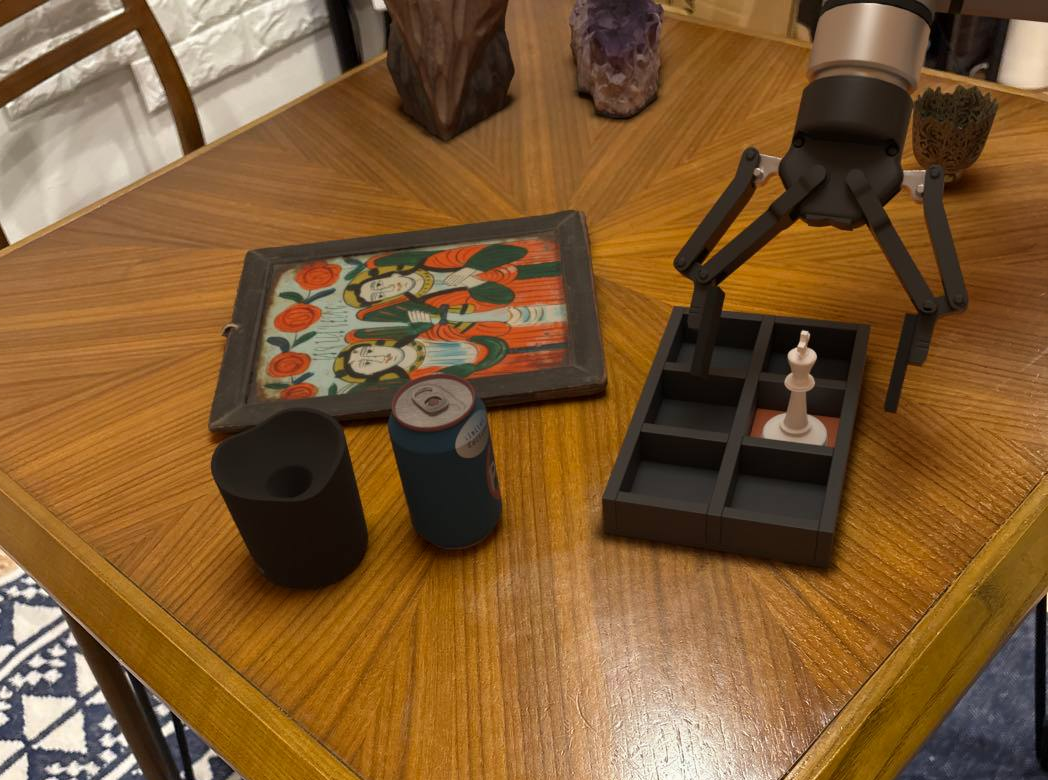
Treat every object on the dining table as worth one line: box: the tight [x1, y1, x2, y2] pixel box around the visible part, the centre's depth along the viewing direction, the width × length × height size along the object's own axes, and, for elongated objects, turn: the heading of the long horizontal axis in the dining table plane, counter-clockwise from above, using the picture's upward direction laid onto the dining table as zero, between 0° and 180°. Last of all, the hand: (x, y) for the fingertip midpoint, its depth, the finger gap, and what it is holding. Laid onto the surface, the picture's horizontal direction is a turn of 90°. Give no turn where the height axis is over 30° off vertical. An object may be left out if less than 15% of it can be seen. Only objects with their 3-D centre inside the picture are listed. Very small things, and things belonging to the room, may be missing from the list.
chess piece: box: [761, 331, 828, 446], centre depth 80 cm, size 5×5×10 cm
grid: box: [601, 305, 872, 569], centre depth 84 cm, size 16×24×4 cm
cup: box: [911, 84, 1000, 188], centre depth 105 cm, size 8×7×8 cm
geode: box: [568, 0, 665, 119], centre depth 127 cm, size 20×12×10 cm, turn 2°
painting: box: [207, 209, 609, 434], centre depth 101 cm, size 28×35×2 cm
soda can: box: [387, 374, 503, 550], centre depth 79 cm, size 7×7×12 cm
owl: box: [382, 0, 516, 142], centre depth 123 cm, size 13×13×20 cm
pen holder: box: [210, 407, 369, 591], centre depth 79 cm, size 9×9×10 cm
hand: (791, 394), depth 78 cm, fingers open, 13 cm apart
